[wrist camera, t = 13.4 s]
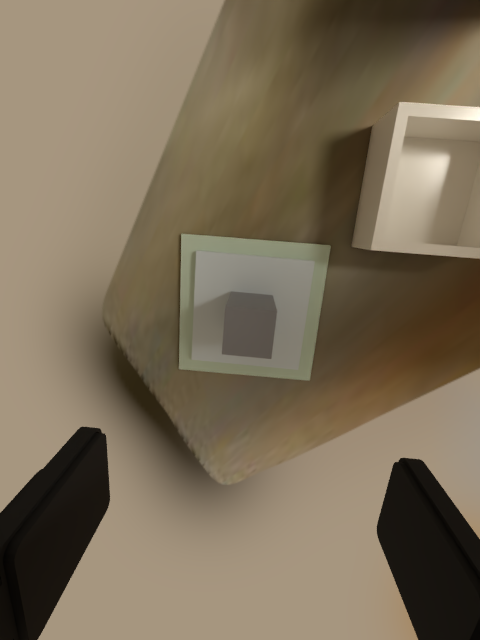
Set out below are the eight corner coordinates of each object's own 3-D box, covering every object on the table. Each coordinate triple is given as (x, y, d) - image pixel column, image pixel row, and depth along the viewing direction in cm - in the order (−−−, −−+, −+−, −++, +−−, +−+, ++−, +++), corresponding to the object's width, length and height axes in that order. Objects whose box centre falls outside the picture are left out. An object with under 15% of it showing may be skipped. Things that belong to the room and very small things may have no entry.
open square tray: (491, 134, 25) (547, 111, 21) (458, 255, 28) (500, 260, 23) (372, 125, 26) (399, 101, 21) (351, 246, 28) (370, 250, 24)
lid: (313, 260, 29) (330, 269, 22) (297, 366, 32) (308, 401, 25) (197, 250, 29) (181, 255, 22) (193, 356, 32) (177, 388, 25)
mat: (329, 245, 29) (330, 245, 28) (309, 379, 32) (309, 380, 32) (182, 233, 29) (181, 233, 28) (179, 367, 33) (178, 369, 32)
